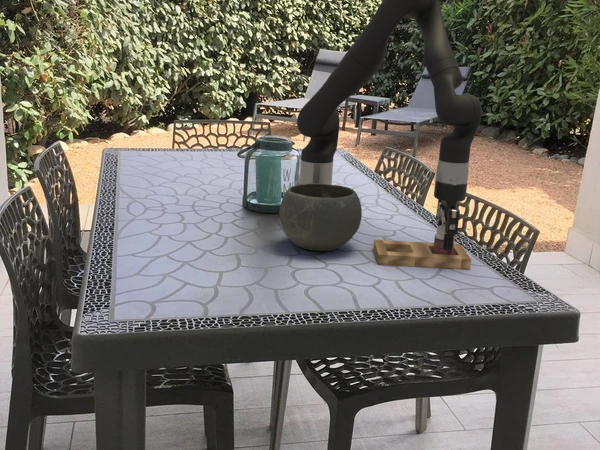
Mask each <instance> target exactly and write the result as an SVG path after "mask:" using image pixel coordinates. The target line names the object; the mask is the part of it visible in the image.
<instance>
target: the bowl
mask: <svg viewBox="0 0 600 450" xmlns="http://www.w3.org/2000/svg"><path fill="white" fill-rule="evenodd" d="M299 184H300V183H299ZM299 184H295V185H292V186H289V188H288V189H286V191H285V193H284V194H283V196H282V198H281V202H280V205H279V211H278V212H279V221H280V224H281V227H282V230H283V231H284V233H285V234H286V236H287V237H288V238H289V240H290V241H291V242H292V243H293V244H295V245H296V246H298V247H299V248H302V249H305V250H308V251H315V252H328V251H329V252H330V251H333V250H336V249H339V248H341V247H343V246H344V245H346V244H347V243H348V242H349V241H351V239H353V237H355V235H356V233H357V232H358V229H359V228H360V226H361V221H362V215H363V213H362V212H363V211H362V205H361V200H360V197H359V195H358V194H357V192H356V191H355V190H354V189H353V188H350V187H348V186H343V185H339V184H332V185H330V184H317V183H309V184H300V185H299Z"/></svg>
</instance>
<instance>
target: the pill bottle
mask: <svg viewBox="0 0 600 450" xmlns="http://www.w3.org/2000/svg"><path fill="white" fill-rule="evenodd" d="M436 227H437V229H436V233H435V234H434V239H433V241H434V242H433V243H434V248H433V254H444V255H453V249H452V250H444V249H443V241H444V226H443V225H441V226H438V225H437V226H436ZM449 229H452V227H451V226H450V228H449ZM455 240H456V239H455V237H454V241H453V247H454V244H455Z"/></svg>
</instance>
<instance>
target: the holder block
mask: <svg viewBox="0 0 600 450" xmlns="http://www.w3.org/2000/svg"><path fill="white" fill-rule="evenodd" d="M372 246H373V247H372V249H373V252H374V257H375V260H376V263H377V265H379V266H383V265H384V266H397V267H398V266H399V267H402V266H403V267H416V268H417V267H419V268H437V269H454V270H471V264H472V258H471V257H470V255H469V254H468V253H467V252H466V250H465V249H464V247H463V245H462V244H460V243H454V247H453V255H444V254H433V248H434V242H424V241H405V240H386V239H385V240H384V239H373V245H372Z"/></svg>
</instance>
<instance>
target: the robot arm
mask: <svg viewBox="0 0 600 450" xmlns="http://www.w3.org/2000/svg"><path fill="white" fill-rule="evenodd" d="M405 17H407V18H410V19H414V21H415V22H416V24H417V27H418V28H419V29H420V31H421V33H422V37H423V43H424V44H423V61H424V65H425V68H426V71H427V74H428V76H429V79H430V81H431V84H432V86H433V97H434V106H435V113H436V116H437V118H438V120H439V121H440V122H441V123H442V124H443V125H444V126H445V125H446V126H451V127H452V126H454V128H453V130H452V132H451V133H449V134H446V135H444V136H443V137H442V138H441V140H440V145H439V154H438V155H439V156H438V160H437V165H436V172H435V179H434V180H435V181H434V189H433V197H434V198H435V199H436V200H438V201H437V206H436V214H435V215H436V216H435V220H436V224H437V227H438V226H441V225H443V226H444V241H443V249H444V250H452V249H453V241H454V242H455V239H454V238H455V236H457V235H458V233H459V232H458V231H459V224H460V223H459V221H460V220H459V219H460V213H461V211H460V209H458V207H457V203H458V202H464V201H465V200H466V199H467V190H468V182H469V181H468V180H469V171H470V170H469V169H470V168H469V164H470V155H471V147H472V143H473V140H474V138H475V137H476V134H477V130H478V127H479V126H480V123H481V120H482V115H483V112H482V111H483V108H482V102H481V101H480V99H479V98H478V97H477V96H476V95H473V94H457V93H456V89H458V88H459V87H460V86H461V85H462V83H463V80H464V79H463V75H462V72H461V69H460V67H459V64H458V62H457V59H456V57H455V54H454V52H453V50H452V47H451V44H450V40H449V38H448V34H447V30H446V27H445V22H444V17H443V14H442V7H441V4H440V0H382V1H381V2H380V5H379V6H378V8H377V9H376V11H375V13H374V14H373V15H372V17H371V19H370V20H369V22H368V23H367V24H366V26H365V28H364V29H363V31H362V32H361V33H360V35H359V36H358V37H357V38H356V40H355V41H354V42H353V44H352V45H351V46H350V48H349V49H348V50H347V51H346V53H345V54H344V56H343V57H342V58H341V59H340V62H339V63H338V64H337V65H336V67H335V69H333V70H332V72H331V73H330V75H329V76H328V77H327V79H326V80H325V82H324V83H323V84H322V86H321V87H320V88H319V89H318V90H317V92H315V94H313V96H312V97H311V98H310V99H309V100H308V101H307V102H306V103H305V104H304V105H303V107H301V109H300V110H299V113H298V115H297V118H296V125H297V129H298V132H299V133H300V134H301V135H302V136H304V137H305V138H306V137H307V138H309V142H308V143H307V145H305V147H303V148H302V149H301V152H300V153H301V154H300V167H299V168H300V169H299V173H300V174H299V184H298V185H300V184H309V183H317V184H330V185H333V184H332V183H333V167H334V156H335V154H336V152H337V150H338V149H337V148H338V141H339V136H340V135H339V134H340V132H339V131H340V114H339V111H338V108H339V107H340V105H342V104H343V103H344V102H346V100H347V99H349V98H350V97H352V96H353V95H354V94H356V93H357V92H359V91H360V90H362V88H364V87H365V86H366V85H367V84H368V83H369V82H370V80H372V78H373V77H374V76H375V74H376V73H378V71H379V69H380V68H381V67H382V65H383V63H384V61H385V58H386V54H387V48H388V42H389V39H390V37H391V35H392V32H394V30H395V29H396V27H398V25H399V23H400V22H401V21H402V20H403V19H404V18H405ZM450 226H451V227H452V229H449V228H450Z"/></svg>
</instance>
